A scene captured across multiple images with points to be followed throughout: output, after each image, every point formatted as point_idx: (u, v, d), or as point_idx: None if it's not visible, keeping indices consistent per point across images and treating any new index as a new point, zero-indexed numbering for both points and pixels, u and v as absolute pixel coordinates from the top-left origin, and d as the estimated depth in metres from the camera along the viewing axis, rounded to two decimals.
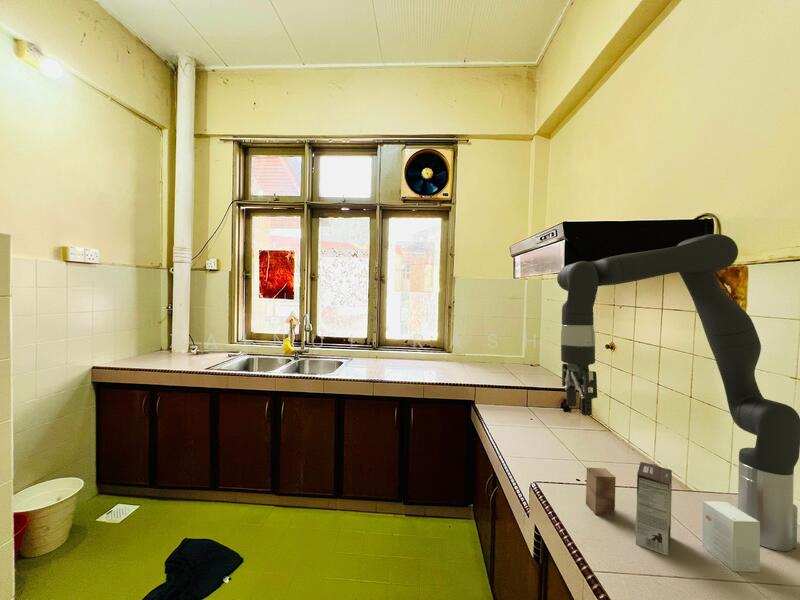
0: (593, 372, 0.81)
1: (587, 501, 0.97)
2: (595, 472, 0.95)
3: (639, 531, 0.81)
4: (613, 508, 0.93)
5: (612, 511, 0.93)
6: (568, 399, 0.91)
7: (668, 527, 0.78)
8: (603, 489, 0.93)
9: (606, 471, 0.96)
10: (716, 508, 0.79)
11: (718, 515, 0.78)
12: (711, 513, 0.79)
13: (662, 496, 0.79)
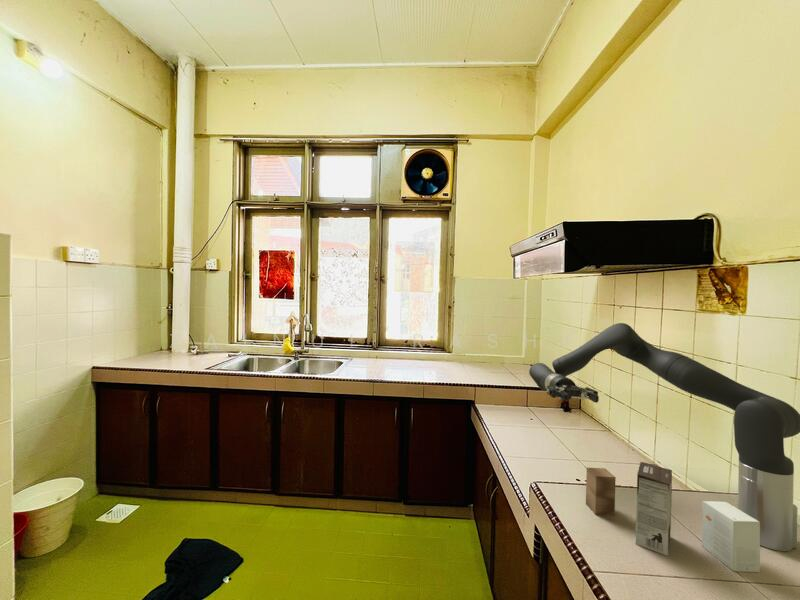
0: None
1: (587, 501, 0.97)
2: (595, 472, 0.95)
3: (639, 531, 0.81)
4: (613, 508, 0.93)
5: (612, 510, 0.93)
6: (592, 400, 1.08)
7: (668, 527, 0.78)
8: (603, 489, 0.93)
9: (606, 471, 0.96)
10: (716, 508, 0.79)
11: (718, 515, 0.78)
12: (711, 513, 0.79)
13: (662, 496, 0.79)
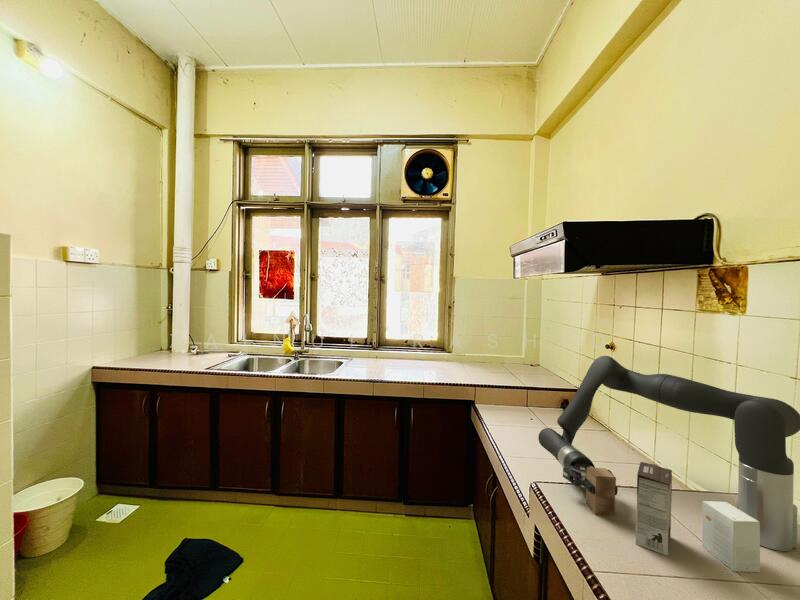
0: None
1: (587, 500, 0.97)
2: (595, 472, 0.95)
3: (639, 531, 0.81)
4: (613, 508, 0.93)
5: (612, 510, 0.93)
6: None
7: (668, 527, 0.78)
8: (603, 489, 0.93)
9: (606, 471, 0.96)
10: (715, 508, 0.79)
11: (718, 515, 0.78)
12: (711, 513, 0.79)
13: (662, 496, 0.79)
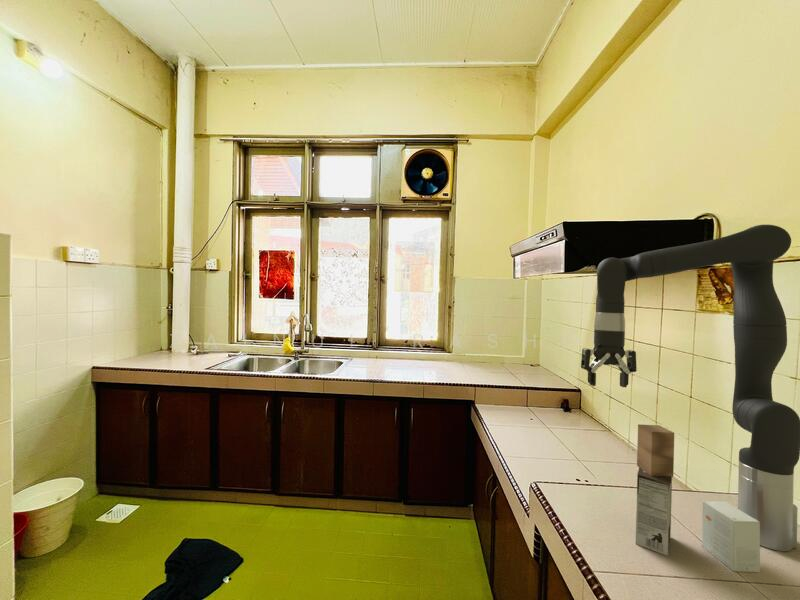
0: (586, 349, 1.00)
1: (639, 462, 0.85)
2: (650, 428, 0.83)
3: (639, 531, 0.81)
4: (672, 468, 0.81)
5: (671, 471, 0.81)
6: (620, 380, 1.01)
7: (668, 527, 0.78)
8: (660, 446, 0.81)
9: (661, 427, 0.84)
10: (715, 508, 0.79)
11: (718, 515, 0.78)
12: (711, 513, 0.79)
13: (662, 496, 0.79)
